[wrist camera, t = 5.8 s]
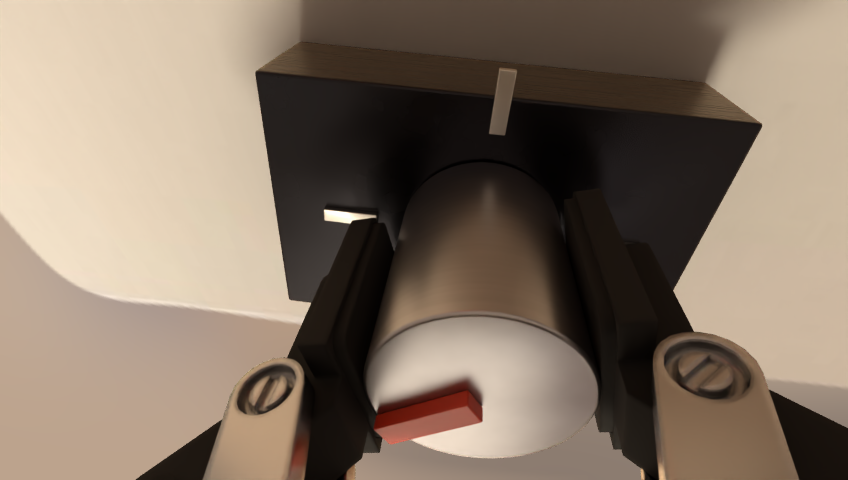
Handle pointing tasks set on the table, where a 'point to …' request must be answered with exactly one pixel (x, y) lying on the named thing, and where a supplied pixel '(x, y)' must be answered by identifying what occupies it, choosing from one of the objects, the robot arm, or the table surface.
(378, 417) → the hob knob
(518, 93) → the panel
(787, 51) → the table surface
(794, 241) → the table surface
